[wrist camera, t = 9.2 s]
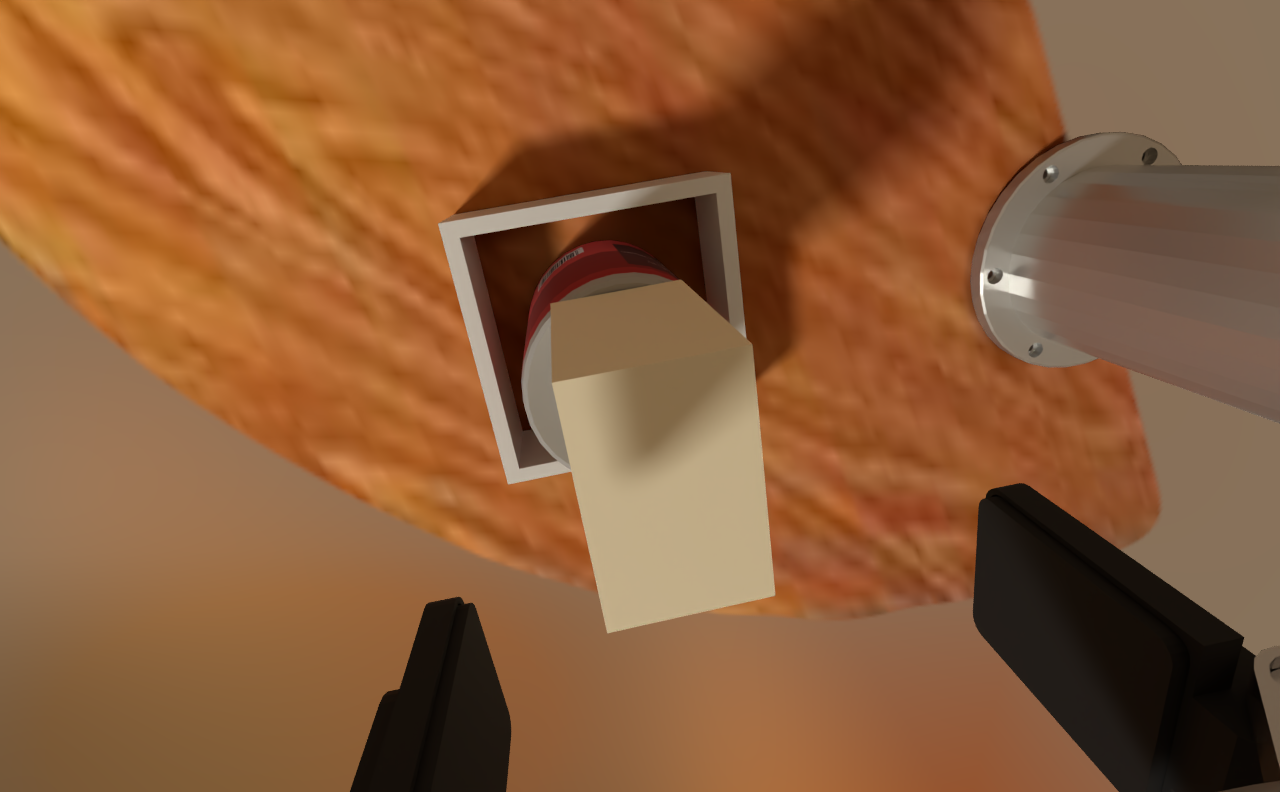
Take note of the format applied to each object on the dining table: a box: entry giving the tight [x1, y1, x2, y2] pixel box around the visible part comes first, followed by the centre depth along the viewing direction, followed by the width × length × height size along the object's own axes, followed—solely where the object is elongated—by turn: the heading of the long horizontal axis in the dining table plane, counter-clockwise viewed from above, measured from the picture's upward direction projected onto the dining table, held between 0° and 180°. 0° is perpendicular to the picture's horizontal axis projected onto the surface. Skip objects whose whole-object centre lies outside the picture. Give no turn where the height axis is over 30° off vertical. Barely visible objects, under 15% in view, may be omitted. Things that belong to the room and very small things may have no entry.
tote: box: [438, 171, 746, 484], centre depth 30 cm, size 12×12×4 cm
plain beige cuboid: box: [550, 280, 775, 633], centre depth 19 cm, size 4×7×8 cm, turn 9°
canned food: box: [521, 240, 680, 469], centre depth 27 cm, size 8×8×11 cm
